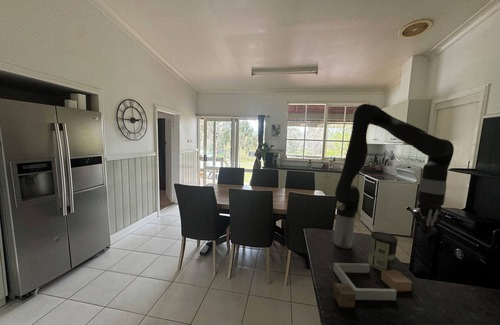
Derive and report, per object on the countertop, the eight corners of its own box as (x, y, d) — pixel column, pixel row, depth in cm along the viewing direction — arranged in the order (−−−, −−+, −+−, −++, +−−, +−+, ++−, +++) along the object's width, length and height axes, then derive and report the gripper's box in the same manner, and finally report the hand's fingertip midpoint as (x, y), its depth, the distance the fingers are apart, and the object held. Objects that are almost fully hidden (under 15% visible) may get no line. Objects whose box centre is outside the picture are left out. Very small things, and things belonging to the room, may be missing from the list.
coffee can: (387, 260, 98) (391, 232, 97) (398, 273, 88) (402, 243, 87) (364, 257, 100) (367, 230, 99) (372, 269, 90) (376, 239, 89)
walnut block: (333, 296, 73) (334, 283, 73) (346, 296, 74) (348, 283, 73) (339, 307, 69) (341, 293, 68) (354, 307, 69) (355, 294, 68)
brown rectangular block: (380, 279, 84) (381, 270, 84) (396, 279, 85) (397, 270, 85) (393, 291, 78) (395, 282, 77) (410, 291, 78) (412, 282, 78)
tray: (333, 270, 88) (334, 262, 88) (367, 271, 89) (368, 263, 89) (354, 299, 72) (355, 290, 72) (395, 300, 73) (396, 291, 72)
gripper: (438, 189, 82) (432, 230, 83) (407, 188, 81) (401, 229, 83) (458, 194, 74) (451, 239, 76) (424, 192, 73) (417, 238, 75)
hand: (425, 234), depth 79 cm, fingers closed
